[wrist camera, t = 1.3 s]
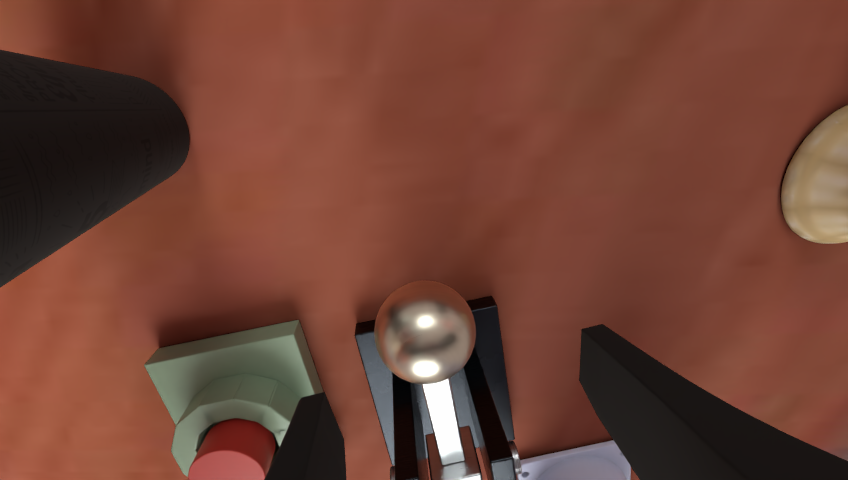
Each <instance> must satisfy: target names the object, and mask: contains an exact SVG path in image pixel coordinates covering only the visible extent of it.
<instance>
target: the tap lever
mask: <svg viewBox="0 0 848 480" xmlns="http://www.w3.org/2000/svg"><path fill="white" fill-rule="evenodd" d="M374 337H375V344H376V348H377V351H378V353H379V355H380V357H381V359H382V361H383V362H384V364H385V365H386V366H387V367H388V369H389V370H390V371H392V372H393V373H394V374H395V375H396V376H398V377H400V378H401V379H403V380H406V381H408V382H411V383H415V384H421V385H422V389H423V393H424V397H425V401H426V405H427V409H428V413H429V417H430V421H431V425H432V429H433V433H431V434H427V435H426V436H425V439H426V446H427V454H428V462H429V469H430V477H431V480H482V474H481V469H480V465H479V461H478V457H477V453H476V449H475V445H474V440H473V436H472V432H471V428H470V426H464V427H459V423H458V418H457V412H456V407H455V402H454V397H453V391H452V386H451V381H450V378H451V377H452V376H454V375H455V374H457V373H458V372H459V371H460V370H461V369H462V368H463V367H464V365H465V364H466V363H467V361H468V360H469V358H470V356H471V354H472V351H473V348H474V345H475V338H476V325H475V321H474V317H473V314H472V312H471V309H470V307H469V306H468V304H467V302H466V301H465V300H464V298H463V297H462V296H461V295H460V294H459V293H458V292H456V291H455V290H454V289H452V288H451V287H449V286H447V285H445V284H442V283H439V282H435V281H427V280H423V281H415V282H411V283H408V284H405V285H403V286H401V287H400V288H398V289H397V290H395V291H394V292H393V293H391V294H390V295H389V296H388V298H387V299H386V300H385V301H384V303H383V304H382V306H381V308H380V310H379V312H378V314H377V318H376V321H375V328H374Z"/></svg>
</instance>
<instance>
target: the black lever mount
mask: <svg viewBox="0 0 848 480" xmlns="http://www.w3.org/2000/svg"><path fill="white" fill-rule="evenodd" d="M466 302H467V304H468V306H469V307H470V309H471V312H472V314H473V317H474V321H475V325H476V338H475V345H474V348H473V351H472V354H471V356H470V358H469V360H468V361H467V363H466V364H465V365H464V367H463V368H462V369H461V370H460V371H459V372H458V373H457V374H455V375H454V376H452V377H451V378H450V381H451V386H452V391H453V397H454V402H455V407H456V412H457V418H458V423H459V427H464V426H470V428H471V432H472V436H473V440H474V445H475V448H478V447H480V451H481V455H482V459H483V463H484V466H485V470H486V474H487V478H488V480H517V479H516V475H518V474H521V473H522V466H521V462H520V457H519V454H518V450H517V447H516V445H515V443H514V441H511V440H514V439H515V437H514V430H513V422H512V415H511V407H510V399H509V392H508V384H507V377H506V369H505V362H504V354H503V347H502V339H501V331H500V324H499V316H498V309H497V305H496V303H495V301H494V299H493V297H492V296H488V297H483V298H479V299H474V300H469V301H466ZM375 321H376V320H372V321H367V322H362V323H357V324H356V329H355V338H356V342H357V345H358V349H359V352H360V356H361V359H362V363H363V366H364V370H365V373H366V376H367V380H368V383H369V387H370V390H371V394H372V397H373V401H374V404H375V408H376V411H377V415H378V418H379V422H380V425H381V429H382V432H383V436H384V439H385V443H386V446H387V450H388V453H389V457H390V460H391V463H392V465H394V466H392V467H391V468H390V480H429V477H428V468H427V459H426V458H428V454H427V446H426V439H425V436H426V435H427V434H431V433H433V429H432V425H431V421H430V417H429V413H428V409H427V405H426V401H425V397H424V393H423V389H422V385H421V384H415V383H411V382H408V381H406V380H403V379H401V378H400V377H398V376H396V375H395V374H394V373H393V372H392V371H390V370H389V369H388V367H387V366H386V365H385V364H384V362H383V361H382V359H381V357H380V355H379V353H378V351H377V348H376V344H375V337H374V328H375ZM508 441H509V442H508Z"/></svg>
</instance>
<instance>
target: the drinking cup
mask: <svg viewBox="0 0 848 480" xmlns="http://www.w3.org/2000/svg"><path fill="white" fill-rule="evenodd" d="M188 150H189V131H188V127H187V124H186V121H185V118H184V116H183V114H182V112H181V111H180V109H179V108H178V106H177V105H176V103H175V102H174V101H173V100H172V99H171V98H170V97H169V96H168V95H167V94H166V93H165V92H164V91H163V90H161V89H160V88H158V87H157V86H155V85H154V84H152V83H150V82H148V81H146V80H143V79H140V78H137V77H133V76H129V75H124V74H119V73H114V72H109V71H104V70H99V69H94V68H89V67H84V66H79V65H74V64H69V63H64V62H59V61H54V60H49V59H44V58H39V57H34V56H29V55H24V54H19V53H14V52H9V51H4V50H0V287H2V286H3V285H5V284H6V283H8V282H9V281H11V280H12V279H14V278H15V277H17V276H19V275H20V274H22V273H23V272H25V271H26V270H28V269H29V268H31V267H32V266H34V265H35V264H37V263H38V262H40V261H41V260H43V259H45V258H46V257H48V256H49V255H51V254H52V253H54V252H55V251H57V250H58V249H60V248H61V247H63V246H64V245H66V244H68V243H69V242H71V241H72V240H74V239H75V238H77V237H78V236H80V235H81V234H83V233H84V232H86V231H87V230H89V229H91V228H92V227H94V226H95V225H97V224H98V223H100V222H101V221H103V220H104V219H106V218H107V217H109V216H110V215H112V214H114V213H115V212H117V211H118V210H120V209H121V208H123V207H124V206H126V205H127V204H129V203H130V202H132V201H133V200H135V199H137V198H138V197H140V196H141V195H143V194H144V193H146V192H147V191H149V190H150V189H152V188H153V187H155V186H156V185H158V184H159V183H161V182H163V181H164V180H166V179H167V178H169V177H170V176H172V175H173V174H174V173H176V172H177V171H178V170H179V169H180V167H181V166H182V165H183V163H184V162H185V159H186V157H187V154H188Z"/></svg>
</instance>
